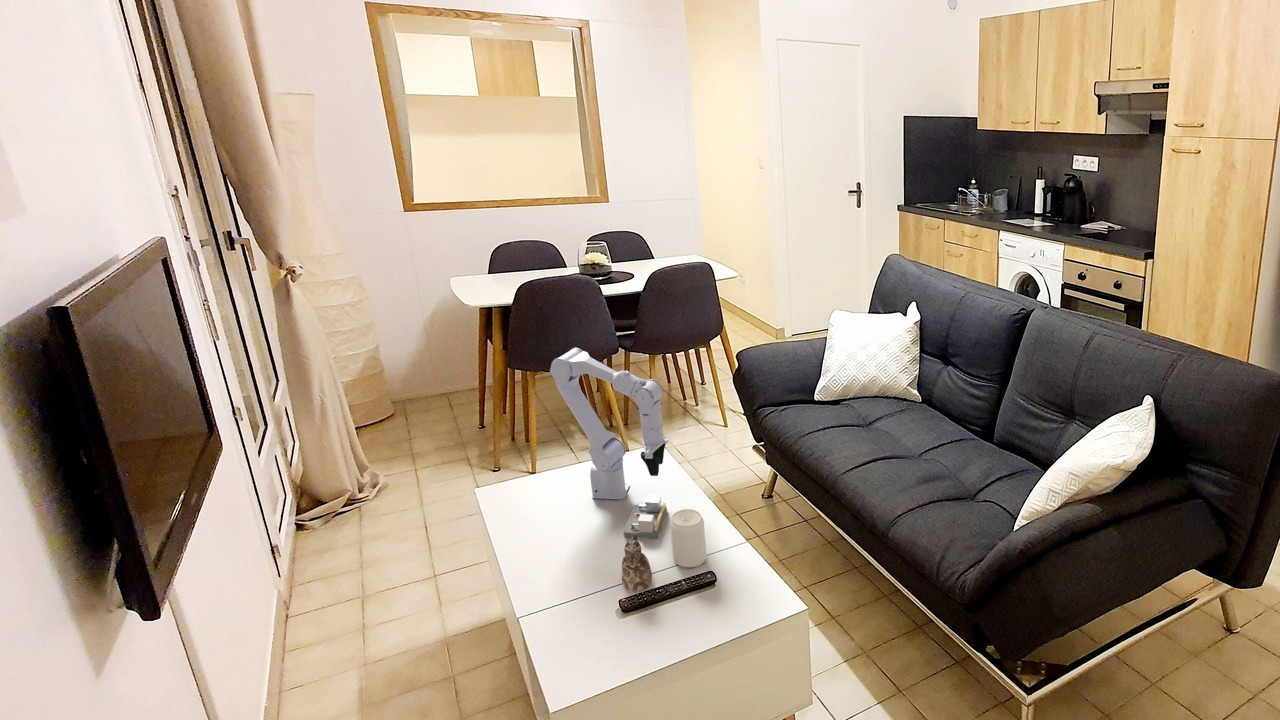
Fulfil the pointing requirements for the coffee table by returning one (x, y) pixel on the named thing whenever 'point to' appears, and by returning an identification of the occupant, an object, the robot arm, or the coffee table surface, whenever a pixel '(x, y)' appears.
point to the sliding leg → (652, 504)
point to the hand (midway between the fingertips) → (656, 469)
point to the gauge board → (635, 520)
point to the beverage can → (688, 538)
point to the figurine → (635, 568)
